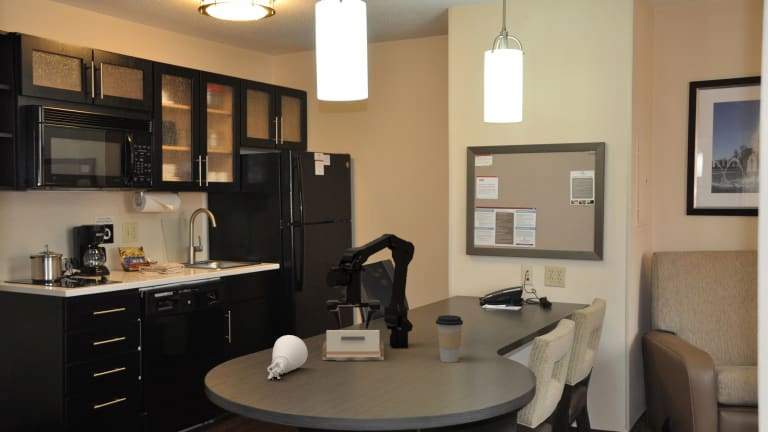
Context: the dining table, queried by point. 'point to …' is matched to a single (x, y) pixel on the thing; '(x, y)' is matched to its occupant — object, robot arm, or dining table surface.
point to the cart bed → (381, 357)
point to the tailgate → (352, 343)
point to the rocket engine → (287, 355)
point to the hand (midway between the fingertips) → (353, 329)
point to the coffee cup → (449, 337)
